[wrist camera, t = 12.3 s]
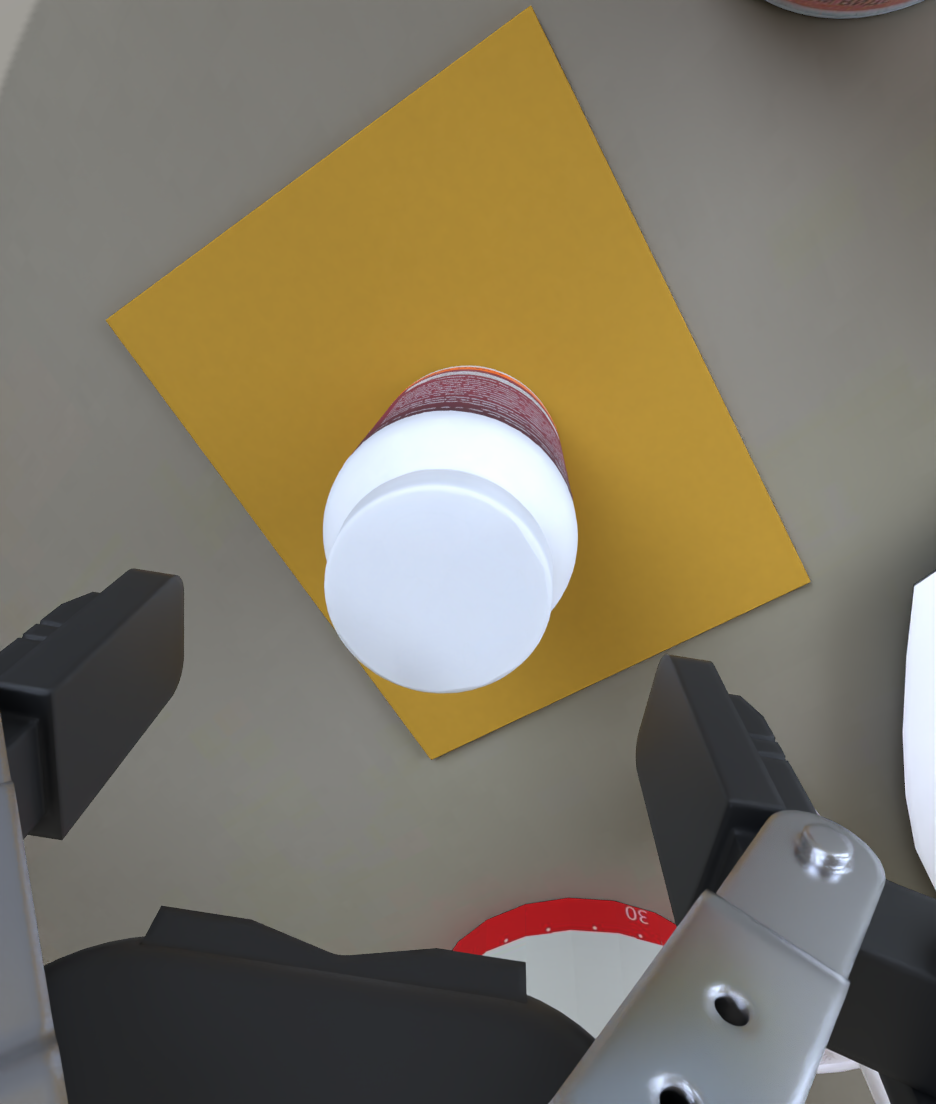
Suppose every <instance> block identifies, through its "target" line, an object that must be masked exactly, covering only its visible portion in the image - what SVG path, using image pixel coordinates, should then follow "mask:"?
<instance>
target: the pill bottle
mask: <svg viewBox="0 0 936 1104" xmlns="http://www.w3.org/2000/svg"><path fill="white" fill-rule="evenodd" d="M323 543H324V550H325V556H326V560H327V564H326V569H325V580H324V591H325V600H326V605H327V610H328V613H329V616H330V619H331V621H332V624H333V626H334V628H335V630H336V632H337V634H338V636H339V637H340V639H341V640H342V642H343V643H344V645H345V646H346V647H347V648H348V650H349V651H350V652H351V653H352V654H353V655H354V656H355V657H356V658H357V659H358V661H359V662H361V663H362V664H363V665H364V666H366V667H367V668H368V669H370V670H371V671H373V672H374V673H375V674H377V675H379V676H380V677H382V678H384V679H386V680H388V681H390V682H392V683H394V684H397V685H400V686H403V687H406V688H409V689H412V690H416V691H421V692H428V693H459V692H464V691H470V690H474V689H477V688H480V687H483V686H486V685H489V684H492V683H494V682H496V681H498V680H500V679H501V678H503V677H505V676H506V675H508V674H509V673H511V672H512V671H513V670H515V669H516V668H517V667H518V666H520V665H521V664H522V663H523V662H524V661H525V660H526V659H527V658H528V657H529V656H530V654H531V653H532V652H533V651H534V649H535V648H536V646H537V645H538V644H539V642H540V640H541V638H542V636H543V634H544V632H545V630H546V627H547V624H548V621H549V618H550V614H551V611H552V610H553V608H554V607H555V606H556V604H557V603H558V601H559V600H560V598H561V597H562V595H563V593H564V591H565V589H566V587H567V585H568V583H569V580H570V578H571V575H572V572H573V569H574V565H575V560H576V554H577V545H578V530H577V520H576V514H575V509H574V503H573V496H572V493H571V489H570V484H569V480H568V474H567V470H566V466H565V461H564V457H563V452H562V447H561V443H560V438H559V435H558V431H557V429H556V426H555V424H554V422H553V420H552V418H551V416H550V414H549V413H548V411H547V409H546V408H545V406H544V405H543V404H542V402H541V401H540V400H539V399H538V397H537V396H536V395H535V394H534V393H533V392H532V391H531V390H530V389H529V388H528V387H526V386H525V385H524V384H522V383H521V382H520V381H518V380H517V379H515V378H513V377H511V376H510V375H507V374H505V373H503V372H500V371H497V370H494V369H491V368H486V367H481V366H455V367H449V368H444V369H441V370H438V371H435V372H433V373H430V374H428V375H426V376H424V377H422V378H420V379H419V380H417V381H416V382H414V383H413V384H412V385H410V386H409V387H408V388H406V389H405V390H404V391H403V392H402V393H401V394H400V395H399V396H398V397H397V398H396V399H395V401H394V402H393V403H392V404H391V406H390V407H389V408H388V409H387V411H386V412H385V413H384V415H383V416H382V417H381V418H380V419H379V420H378V422H377V423H376V424H375V426H374V427H373V428H372V429H371V431H369V433H368V434H367V435H366V437H365V438H364V439H363V440H362V441H361V443H360V444H359V445H358V447H357V448H356V449H355V450H354V452H353V453H352V454H351V455H350V456H349V458H348V459H347V460H346V462H345V463H344V465H343V467H342V469H341V470H340V471H339V473H338V475H337V477H336V479H335V481H334V483H333V486H332V488H331V490H330V493H329V496H328V499H327V503H326V507H325V511H324V519H323Z"/></svg>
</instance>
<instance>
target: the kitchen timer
mask: <svg viewBox="0 0 936 1104" xmlns="http://www.w3.org/2000/svg"><path fill="white" fill-rule="evenodd" d="M676 928H677V927H676V925H675V924H674V923H672V922H670V921H668V920H667V919H665V918H663V917H662V916H660V915H658V914H656V913H654V912H650V911H647V910H643V909H640V908H637V907H633V906H630V905H626V904H623V903H619V902H616V901H609V900H593V899H577V898H565V899H558V900H552V901H545V902H539V903H532V904H525V905H523V906H520V907H518V908H515V909H513V910H510V911H508V912H505V913H503V914H500V915H498V916H495V917H493V918H490V919H488V920H486V921H485V922H484V923H482V924H481V925H480V926H478V927H477V928H476V929H474V930H473V931H472V932H471V933H469V934H468V935H467V936H465V937H464V938H463V939H461V940H460V941H459V942H458V943H457V944H456V946H455V947H454V949H453V950H452V951H457V952H464V953H470V954H477V955H483V956H490V957H496V958H502V959H509V960H515V961H522V962H526V991H527V995H529V996H532V997H534V998H536V999H538V1000H541V1001H542V1002H544V1003H546V1004H548V1005H550V1006H551V1007H553V1008H555V1009H557V1010H559V1011H560V1012H562V1013H563V1014H565V1015H566V1016H567V1017H569V1018H570V1019H572V1020H573V1021H575V1022H576V1023H577V1024H579V1025H580V1026H581V1027H583V1028H584V1029H585V1030H586V1031H587V1032H588V1033H589V1034H591V1035H592V1036H593V1037H594V1038H595V1039H596V1038H597V1037H598V1035H599V1034H600V1033H601V1031H602V1030H603V1028H604V1027H605V1026H606V1024H607V1023H608V1022H609V1020H610V1019H611V1017H612V1016H613V1015H614V1013H615V1012H616V1011H617V1009H618V1008H619V1006H620V1005H621V1004H622V1002H623V1001H624V1000H625V998H626V997H627V995H628V994H629V993H630V991H631V990H632V989H633V987H634V986H635V984H636V983H637V982H638V980H639V979H640V978H641V976H642V975H643V973H644V972H645V971H646V969H647V968H648V966H649V965H650V964H651V962H652V961H653V960H654V958H655V957H656V955H657V954H658V953H659V951H660V950H661V949H662V947H663V946H664V944H665V943H666V942H667V940H668V939H669V938H670V936H671V935H672V933H673V932H674V931H675V929H676Z"/></svg>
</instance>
